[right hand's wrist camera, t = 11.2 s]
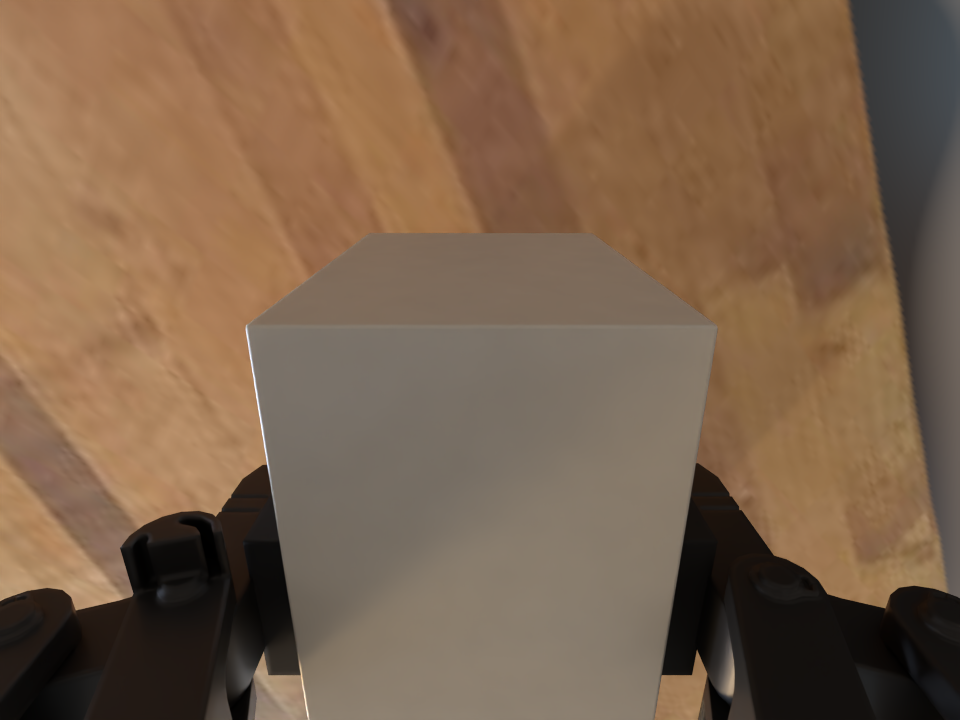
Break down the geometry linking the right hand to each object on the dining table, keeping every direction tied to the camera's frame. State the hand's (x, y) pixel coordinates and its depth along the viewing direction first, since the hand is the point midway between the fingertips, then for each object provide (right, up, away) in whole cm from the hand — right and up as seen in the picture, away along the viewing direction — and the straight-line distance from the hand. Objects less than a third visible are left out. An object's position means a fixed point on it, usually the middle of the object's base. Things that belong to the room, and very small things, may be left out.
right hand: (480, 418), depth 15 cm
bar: (0, -29, +12) cm, 32 cm away
